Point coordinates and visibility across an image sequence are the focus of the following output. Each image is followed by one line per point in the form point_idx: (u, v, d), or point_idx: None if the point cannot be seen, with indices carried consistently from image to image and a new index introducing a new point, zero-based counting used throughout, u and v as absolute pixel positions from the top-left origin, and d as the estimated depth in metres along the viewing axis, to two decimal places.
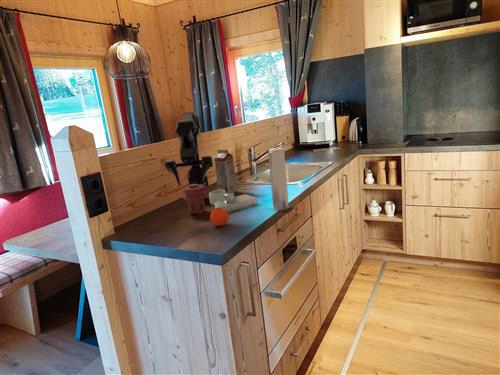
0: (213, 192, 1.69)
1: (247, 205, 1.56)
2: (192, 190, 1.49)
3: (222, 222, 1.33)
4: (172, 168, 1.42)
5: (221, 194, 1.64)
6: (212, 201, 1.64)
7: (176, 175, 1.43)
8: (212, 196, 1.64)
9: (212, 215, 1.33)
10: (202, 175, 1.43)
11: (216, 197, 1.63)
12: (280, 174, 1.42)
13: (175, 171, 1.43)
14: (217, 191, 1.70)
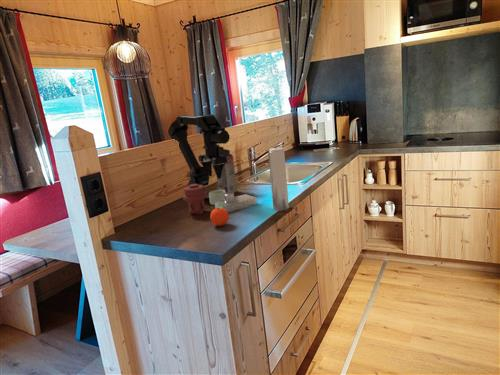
0: (213, 192, 1.69)
1: (247, 205, 1.56)
2: (192, 190, 1.49)
3: (222, 222, 1.33)
4: None
5: (221, 194, 1.64)
6: (212, 201, 1.64)
7: None
8: (212, 196, 1.64)
9: (212, 215, 1.33)
10: None
11: (216, 197, 1.63)
12: (280, 174, 1.42)
13: None
14: (217, 191, 1.70)
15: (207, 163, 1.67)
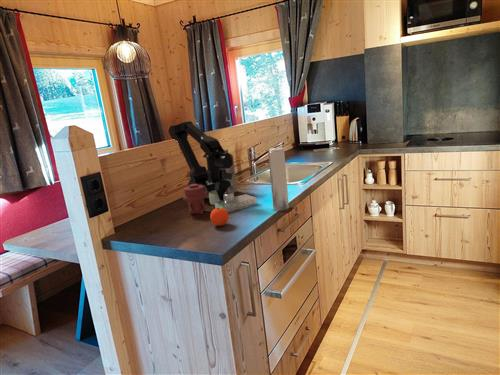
0: (213, 192, 1.69)
1: (247, 205, 1.56)
2: (192, 190, 1.49)
3: (222, 222, 1.33)
4: None
5: None
6: (212, 201, 1.64)
7: None
8: (212, 196, 1.64)
9: (212, 215, 1.33)
10: None
11: (216, 197, 1.63)
12: (280, 174, 1.42)
13: None
14: None
15: (211, 186, 1.69)
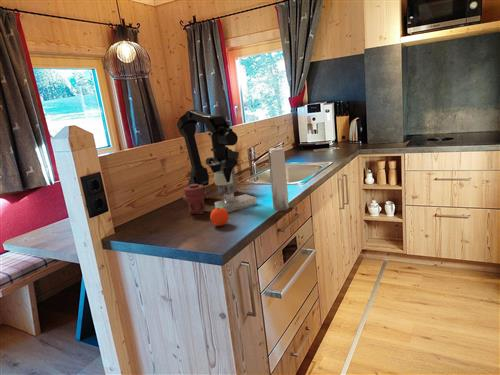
0: (218, 173, 1.58)
1: (247, 205, 1.56)
2: (192, 190, 1.49)
3: (222, 222, 1.33)
4: None
5: None
6: (218, 181, 1.54)
7: None
8: (218, 176, 1.53)
9: (212, 215, 1.33)
10: None
11: (222, 177, 1.53)
12: (280, 174, 1.42)
13: None
14: None
15: (216, 166, 1.59)
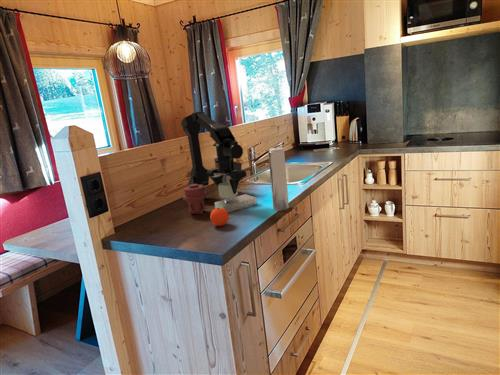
0: (222, 185, 1.56)
1: (247, 205, 1.56)
2: (192, 190, 1.49)
3: (222, 222, 1.33)
4: None
5: None
6: (224, 194, 1.51)
7: None
8: (224, 188, 1.51)
9: (212, 215, 1.33)
10: None
11: (229, 189, 1.51)
12: (280, 174, 1.42)
13: None
14: (225, 183, 1.57)
15: (218, 178, 1.56)
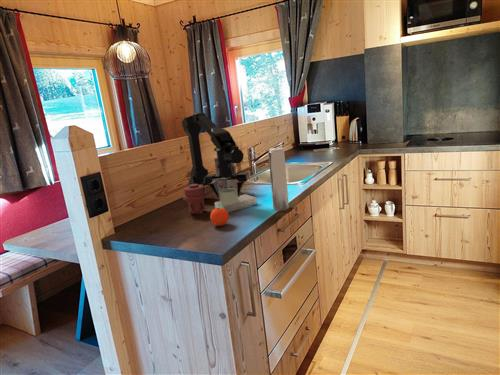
0: None
1: (247, 205, 1.56)
2: (192, 190, 1.49)
3: (222, 222, 1.33)
4: None
5: (236, 191, 1.54)
6: (229, 200, 1.52)
7: None
8: (230, 194, 1.51)
9: (212, 215, 1.33)
10: None
11: (234, 195, 1.52)
12: (280, 174, 1.42)
13: None
14: (223, 191, 1.57)
15: (215, 184, 1.54)
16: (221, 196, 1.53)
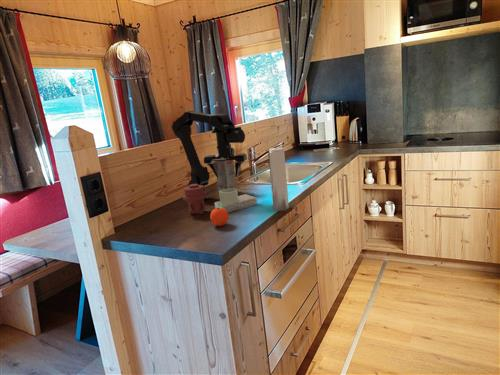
0: None
1: (247, 205, 1.56)
2: (192, 190, 1.49)
3: (222, 222, 1.33)
4: None
5: (236, 191, 1.54)
6: (229, 200, 1.52)
7: None
8: (230, 194, 1.51)
9: (212, 215, 1.33)
10: None
11: (234, 195, 1.52)
12: (280, 174, 1.42)
13: None
14: (223, 191, 1.57)
15: (214, 164, 1.62)
16: (221, 196, 1.53)
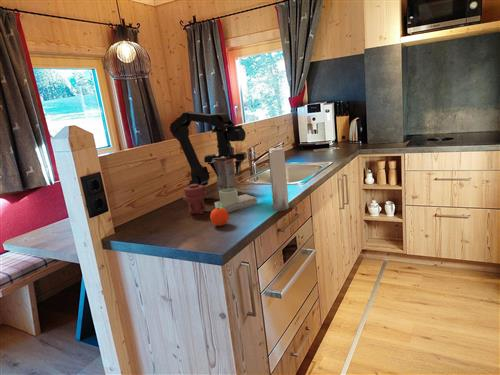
0: None
1: (247, 205, 1.56)
2: (192, 190, 1.49)
3: (222, 222, 1.33)
4: None
5: (236, 191, 1.54)
6: (229, 200, 1.52)
7: None
8: (230, 194, 1.51)
9: (212, 215, 1.33)
10: None
11: (234, 195, 1.52)
12: (280, 174, 1.42)
13: None
14: (223, 191, 1.57)
15: (215, 163, 1.64)
16: (221, 196, 1.53)
